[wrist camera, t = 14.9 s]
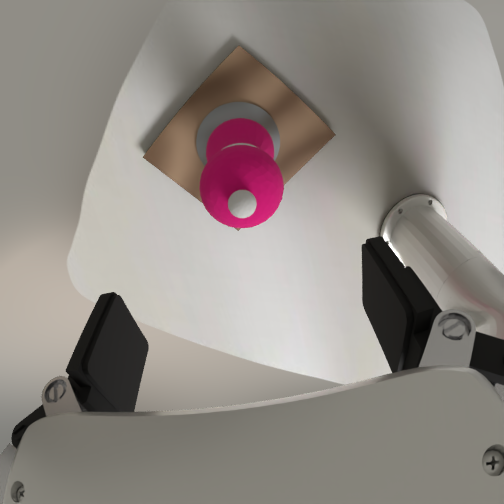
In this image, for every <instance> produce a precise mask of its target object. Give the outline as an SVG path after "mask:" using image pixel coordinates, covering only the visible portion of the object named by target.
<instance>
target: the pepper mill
mask: <svg viewBox="0 0 504 504" xmlns="http://www.w3.org/2000/svg"><path fill="white" fill-rule="evenodd" d="M206 158H207V164H206V165H205V167H204V169H203V171H202V174H201V178H200V188H199V189H200V196H201V199H202V202H203V204H204V206H205V208H206V210H207V211H208V212H209V213H210V215H211V216H213V217H214V218H215V219H216V220H217V221H219V222H221V223H222V224H225V225H227V226H230V227H234V228H249V227H253V226H256V225H259V224H261V223H262V222H264V221H266V220H267V219H268V218H270V217H271V216H272V215H273V214H274V212H275V211H276V209H277V208H278V206H279V204H280V202H281V200H282V195H283V190H284V184H283V177H282V174H281V171H280V168H279V167H278V165H277V163H276V162H275V161H274V144H273V141H272V138H271V136H270V134H269V133H268V131H267V130H266V129H265V128H264V127H263V126H262V125H261V124H259V123H257V122H255V121H253V120H250V119H245V118H235V119H230V120H228V121H225V122H223V123H222V124H220V125H219V126H218V127H216V128H215V129H214V131H213V132H212V133H211V135H210V137H209V139H208V142H207V146H206Z"/></svg>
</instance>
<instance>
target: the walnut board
mask: <svg viewBox="0 0 504 504" xmlns="http://www.w3.org/2000/svg"><path fill="white" fill-rule="evenodd" d="M235 118H245V119H250V120H253V121H255V122H257V123H259V124H261V125H262V126H263V127H264V128H265V129H266V130H267V131H268V133H269V134H270V136H271V138H272V141H273V144H274V161H275V162H276V163H277V165H278V167H279V168H280V171H281V174H282V177H283V184H284V185H285V184H286V183H287V182H288V181H289V180H290V179H291V178H292V177H293V176H294V175H295V174H296V173H297V172H298V171H299V170H300V169H301V168H302V167H303V166H304V165H305V164H306V163H307V162H308V161H309V160H310V159H311V158H312V157H313V156H314V155H315V154H316V153H317V152H318V151H319V150H320V149H321V148H322V147H323V146H324V145H325V144H326V143H327V142H328V141H329V140H330V139H332V138H333V137H334V136H335V135H336V134H335V133H334V132H333V131H332V130H331V129H330V128H329V127H328V126H327V125H326V124H325V123H324V122H323V121H322V120H321V119H320V118H319V117H318V116H317V115H316V114H315V113H314V112H313V111H312V110H311V109H310V108H309V107H308V106H307V105H306V104H305V103H304V102H303V101H302V100H301V99H300V98H299V97H298V96H297V95H296V94H295V93H293V92H292V91H291V90H290V89H289V88H288V87H287V86H286V85H285V84H284V83H283V82H282V81H280V80H279V79H278V78H277V77H276V76H275V75H274V74H273V73H271V72H270V71H269V70H268V69H267V68H266V67H264V66H263V65H262V64H261V63H260V62H259V61H257V60H256V59H255V58H254V57H253V56H251V55H250V54H249V53H248V52H247V51H245V50H244V49H243V48H242V47H240V46H238V47H237V48H236V49H235V50H234V51H233V52H232V53H231V54H230V55H229V56H228V57H227V58H226V59H225V60H224V61H223V62H222V63H221V64H220V65H219V66H218V67H217V68H216V69H215V70H214V72H213V73H212V74H211V75H210V76H209V77H208V78H207V79H206V80H205V81H204V82H203V84H202V85H201V86H200V87H199V88H198V89H197V90H196V91H195V93H194V94H193V95H192V96H191V97H190V98H189V99H188V101H187V102H186V103H185V104H184V105H183V107H182V108H181V109H180V110H179V111H178V113H177V114H176V115H175V116H174V117H173V119H172V120H171V121H170V122H169V124H168V125H167V126H166V127H165V129H164V130H163V131H162V132H161V134H160V135H159V136H158V138H157V139H156V140H155V142H154V143H153V144H152V145H151V147H150V148H149V149H148V151H147V152H146V154H145V155H144V156H143V158H144V159H146V160H147V161H148V162H150V163H151V164H152V165H154V166H155V167H156V168H157V169H159V170H160V171H161V172H163V173H164V174H165V175H167V176H168V177H169V178H171V179H172V180H173V181H174V182H176V183H177V184H178V185H180V186H181V187H182V188H184V189H185V190H186V191H187V192H189V193H190V194H191V195H193V196H194V197H195V198H197V199H198V200H199V201H200V202H202V199H201V196H200V189H199V188H200V178H201V174H202V171H203V169H204V167H205V165H206V164H207V158H206V146H207V142H208V139H209V137H210V135H211V133H212V132H213V131H214V129H215V128H216V127H218V126H219V125H220V124H222V123H223V122H225V121H228V120H230V119H235ZM202 203H203V202H202ZM235 229H237V230H238V231H239V230H240V229H241V228H235Z"/></svg>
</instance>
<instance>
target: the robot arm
mask: <svg viewBox="0 0 504 504" xmlns="http://www.w3.org/2000/svg"><path fill="white" fill-rule="evenodd" d="M362 300H363V306H364V309H365V312H366V314H367V316H368V318H369V320H370V323H371V325H372V327H373V329H374V331H375V334H376V336H377V338H378V340H379V343H380V345H381V347H382V350H383V352H384V354H385V357H386V359H387V361H388V364H389V366H390V368H391V371H392V373H391V374H387V375H383V376H379V377H375V378H371V379H368V380H364V381H360V382H356V383H351V384H347V385H343V386H339V387H334V388H330V389H325V390H321V391H316V392H311V393H306V394H301V395H296V396H291V397H285V398H279V399H273V400H267V401H261V402H254V403H246V404H239V405H231V406H222V407H212V408H202V409H190V410H174V411H152V412H134V409H135V405H136V400H137V395H138V391H139V386H140V382H141V378H142V374H143V369H144V365H145V361H146V357H147V352H148V342H147V340H146V338H145V337H144V335H143V334H142V332H141V331H140V329H139V327H138V326H137V324H136V322H135V320H134V319H133V317H132V315H131V313H130V312H129V310H128V308H127V307H126V305H125V303H124V301H123V299H122V298H121V296H120V295H117V294H116V293H115V292H111V293H106V294H102V295H100V297H99V299H98V301H97V303H96V305H95V307H94V309H93V311H92V313H91V315H90V317H89V319H88V321H87V324H86V326H85V328H84V330H83V332H82V334H81V336H80V339H79V341H78V343H77V345H76V347H75V350H74V352H73V354H72V357H71V359H70V361H69V364H68V366H67V369H66V372H67V373H68V374H69V376H68V379H67V378H66V377H63V376H59V377H55V378H53V379H52V380H50V381H49V382H48V383H47V384H46V386H45V387H44V389H43V391H42V403H43V405H41V406H40V407H39V408H38V409H36V410H35V411H34V412H33V413H31V414H30V415H29V416H27V417H26V418H25V419H23V420H22V421H21V422H20V423H19V424H18V425H16V426H15V428H14V430H13V433H12V444H13V445H11V444H10V443H9V444H8V445H7V447H6V448H5V449H4V451H3V452H2V453H1V454H0V504H504V275H503V274H502V273H501V272H500V271H499V270H498V269H497V268H496V267H495V266H494V265H493V264H492V263H491V262H490V261H489V260H488V259H487V258H486V257H485V256H484V255H483V254H482V253H481V252H480V251H479V250H478V249H477V248H476V247H475V246H474V245H473V244H472V243H471V242H470V241H469V240H468V239H467V238H465V237H464V236H463V235H462V234H461V233H460V232H459V231H458V230H457V229H456V228H454V227H453V226H452V225H451V224H450V223H449V222H448V221H447V214H446V211H445V209H444V207H443V206H442V204H441V203H440V202H439V201H437V200H436V199H435V198H433V197H431V196H429V195H425V194H417V195H412V196H409V197H407V198H405V199H403V200H402V201H400V202H399V203H398V204H396V205H395V206H394V207H393V208H392V210H391V211H390V212H389V213H388V215H387V217H386V218H385V220H384V223H383V225H382V228H381V233H380V236H379V237H375V238H370V239H367V240H366V244H363V245H362Z"/></svg>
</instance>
